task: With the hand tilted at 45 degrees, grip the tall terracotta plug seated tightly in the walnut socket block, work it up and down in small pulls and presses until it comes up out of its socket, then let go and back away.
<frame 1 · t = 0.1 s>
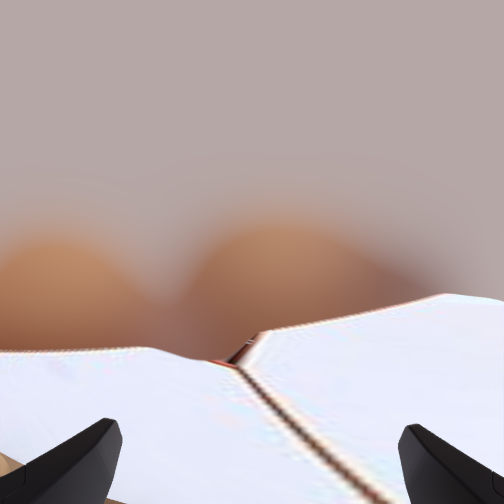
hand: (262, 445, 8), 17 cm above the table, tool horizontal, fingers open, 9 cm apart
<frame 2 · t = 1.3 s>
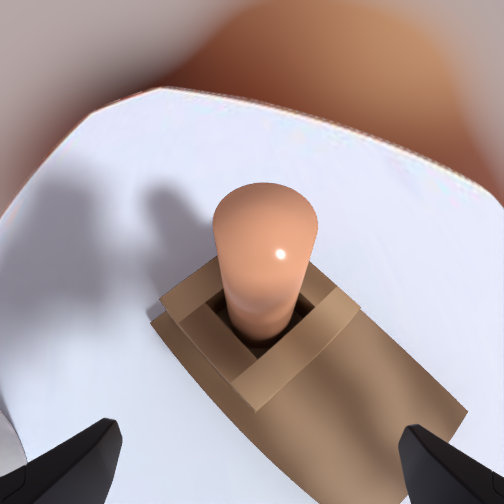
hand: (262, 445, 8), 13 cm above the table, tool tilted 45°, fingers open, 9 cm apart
wooden socket base: (258, 328, 23), on the table
plug: (261, 284, 17), point 7 cm above the table, slide at 0.0 cm
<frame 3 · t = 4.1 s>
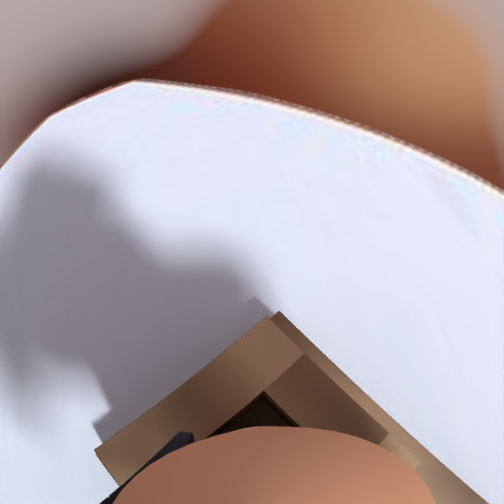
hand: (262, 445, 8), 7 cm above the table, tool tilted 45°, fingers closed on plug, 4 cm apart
wooden socket base: (257, 463, 13), on the table
plug: (261, 492, 6), point 7 cm above the table, slide at 0.0 cm, touching gripper
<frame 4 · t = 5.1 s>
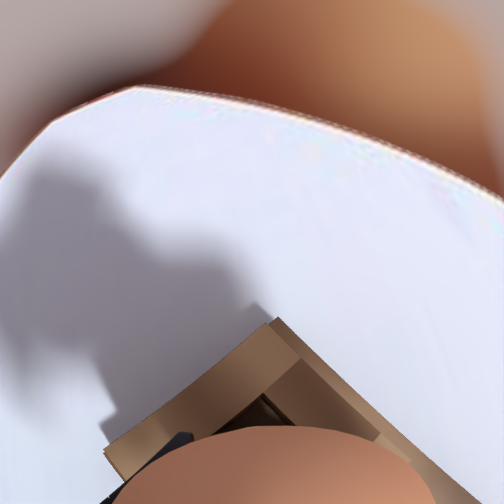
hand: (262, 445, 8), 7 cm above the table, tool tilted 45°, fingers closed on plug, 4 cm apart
wooden socket base: (257, 461, 13), on the table
plug: (261, 491, 7), point 8 cm above the table, slide at 0.8 cm, touching gripper
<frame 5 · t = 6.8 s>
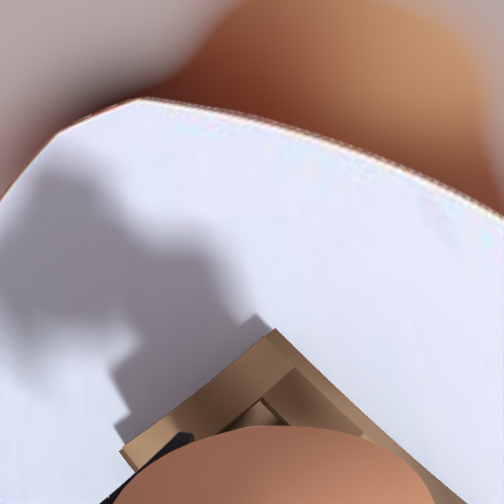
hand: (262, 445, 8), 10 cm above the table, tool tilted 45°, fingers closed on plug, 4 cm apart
wooden socket base: (256, 456, 15), on the table
plug: (261, 491, 7), point 10 cm above the table, slide at 2.9 cm, touching gripper
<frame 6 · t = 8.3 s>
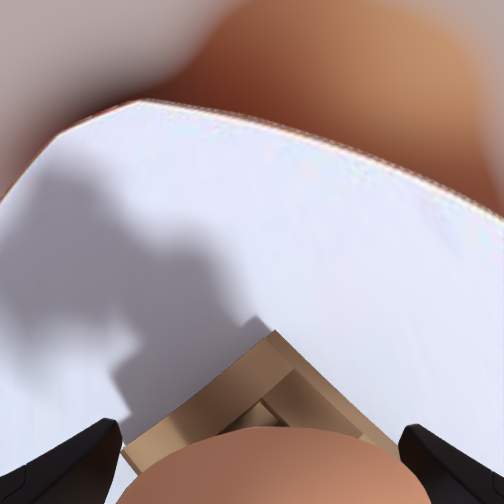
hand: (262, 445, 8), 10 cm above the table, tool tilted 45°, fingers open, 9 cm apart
wooden socket base: (256, 457, 15), on the table
plug: (261, 491, 7), point 10 cm above the table, slide at 3.0 cm
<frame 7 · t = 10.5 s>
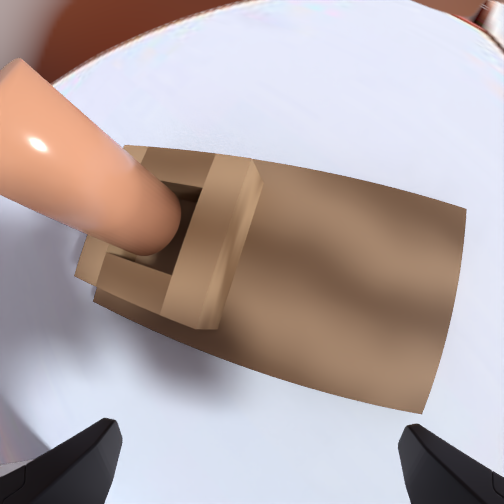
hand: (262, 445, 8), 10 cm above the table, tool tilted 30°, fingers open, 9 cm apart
wooden socket base: (185, 242, 21), on the table
plug: (81, 177, 11), point 10 cm above the table, slide at 3.0 cm
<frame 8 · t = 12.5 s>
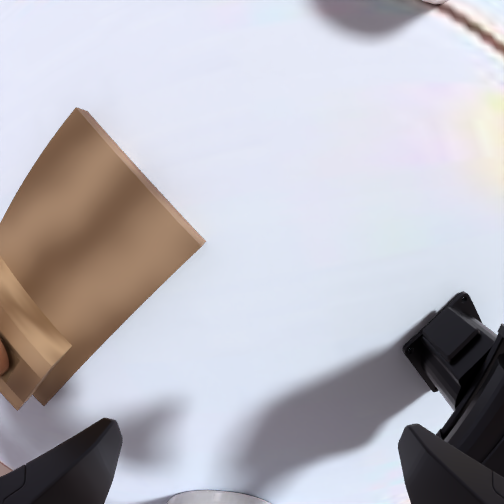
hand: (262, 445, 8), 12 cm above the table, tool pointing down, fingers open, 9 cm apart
wooden socket base: (24, 324, 21), on the table
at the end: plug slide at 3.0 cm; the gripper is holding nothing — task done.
